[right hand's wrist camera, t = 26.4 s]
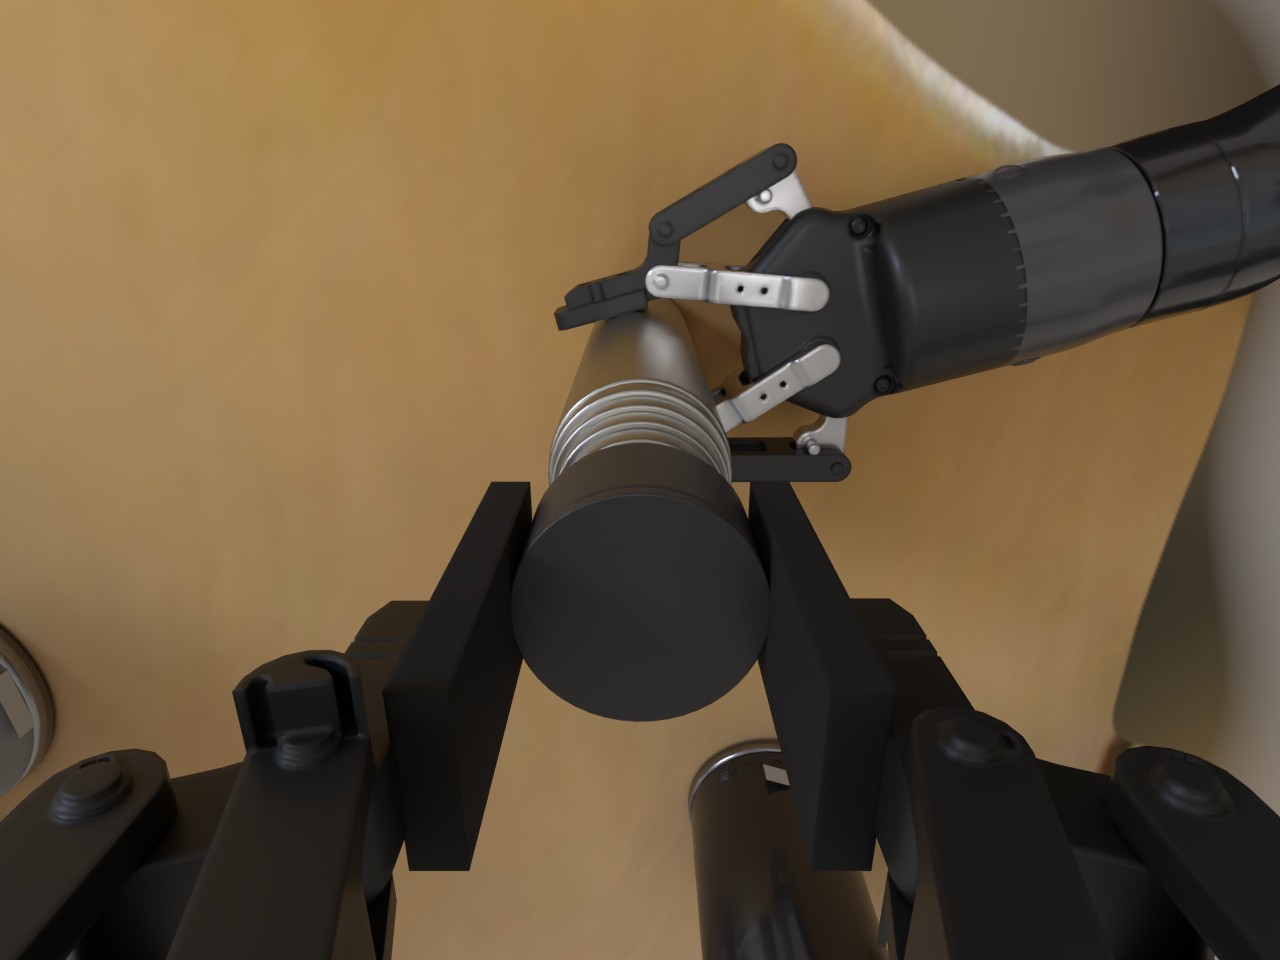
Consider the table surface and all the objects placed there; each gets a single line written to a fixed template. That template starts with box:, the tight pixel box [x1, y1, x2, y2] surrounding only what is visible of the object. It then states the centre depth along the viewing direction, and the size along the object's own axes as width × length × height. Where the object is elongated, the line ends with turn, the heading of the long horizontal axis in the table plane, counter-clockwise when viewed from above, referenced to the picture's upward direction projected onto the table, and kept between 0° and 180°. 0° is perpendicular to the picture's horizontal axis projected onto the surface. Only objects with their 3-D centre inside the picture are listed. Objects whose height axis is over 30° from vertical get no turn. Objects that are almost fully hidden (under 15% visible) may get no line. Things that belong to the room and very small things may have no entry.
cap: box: [511, 443, 770, 722], centre depth 13 cm, size 4×4×3 cm
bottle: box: [548, 298, 732, 486], centre depth 25 cm, size 5×5×25 cm
